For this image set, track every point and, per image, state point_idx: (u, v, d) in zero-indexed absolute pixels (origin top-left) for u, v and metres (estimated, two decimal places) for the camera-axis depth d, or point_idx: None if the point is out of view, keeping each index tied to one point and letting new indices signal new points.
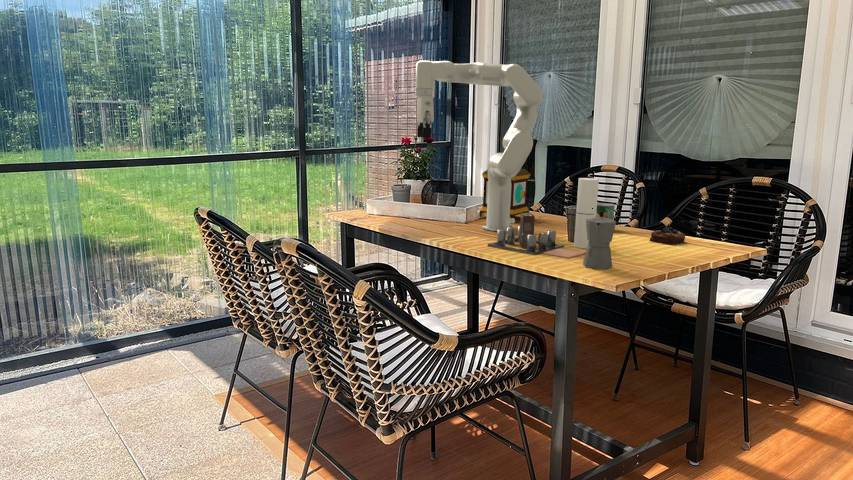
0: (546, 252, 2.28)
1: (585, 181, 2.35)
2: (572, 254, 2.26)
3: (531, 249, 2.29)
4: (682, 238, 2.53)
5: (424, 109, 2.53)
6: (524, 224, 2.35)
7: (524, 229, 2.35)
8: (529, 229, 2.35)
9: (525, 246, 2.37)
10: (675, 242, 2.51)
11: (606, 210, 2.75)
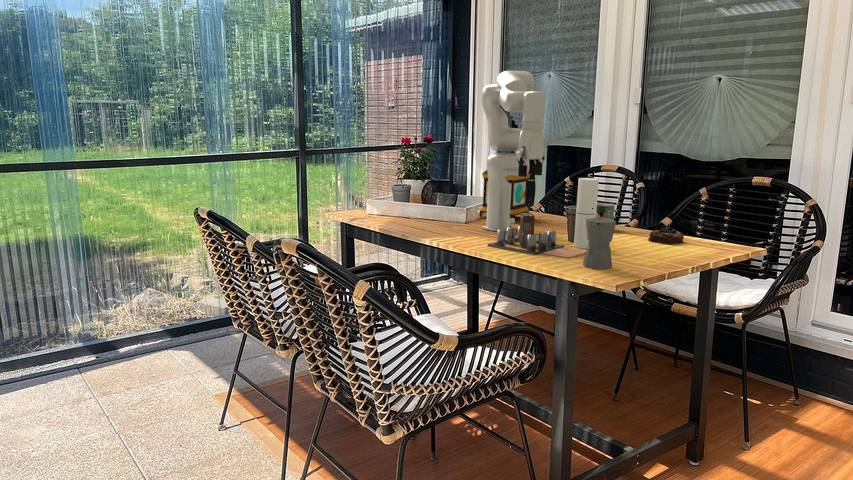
0: (546, 252, 2.28)
1: (585, 181, 2.35)
2: (572, 254, 2.26)
3: (531, 249, 2.29)
4: (680, 238, 2.54)
5: None
6: (524, 224, 2.35)
7: (524, 229, 2.35)
8: (529, 229, 2.35)
9: (525, 246, 2.37)
10: (674, 242, 2.52)
11: (606, 210, 2.75)
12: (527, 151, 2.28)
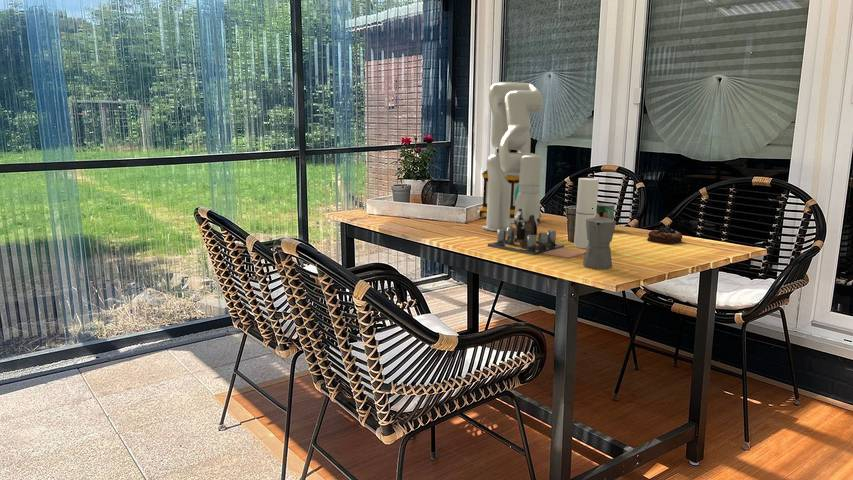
0: (546, 252, 2.28)
1: (585, 181, 2.35)
2: (572, 254, 2.26)
3: (531, 249, 2.29)
4: (679, 237, 2.54)
5: None
6: None
7: None
8: (529, 229, 2.35)
9: (525, 246, 2.37)
10: (672, 242, 2.52)
11: (606, 210, 2.75)
12: (524, 213, 2.32)
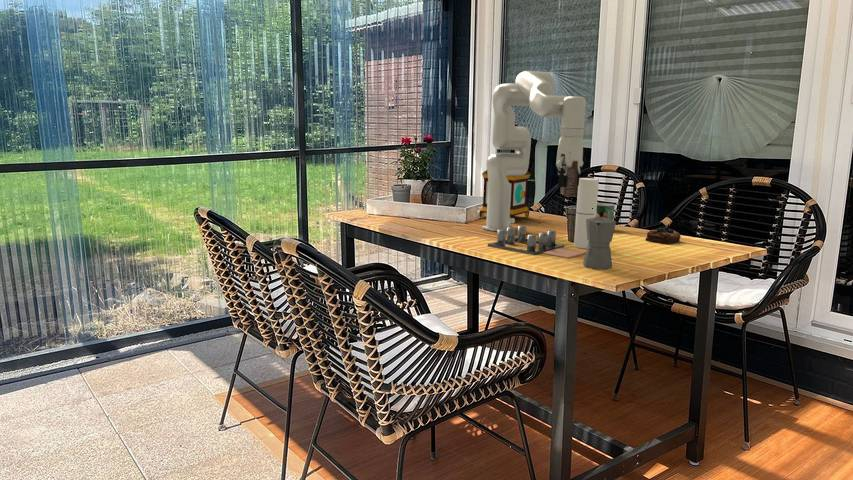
0: (546, 252, 2.28)
1: (585, 181, 2.35)
2: (572, 254, 2.26)
3: (531, 249, 2.29)
4: (677, 237, 2.54)
5: None
6: None
7: None
8: (572, 176, 2.21)
9: (567, 194, 2.22)
10: (671, 241, 2.52)
11: (606, 210, 2.75)
12: (567, 159, 2.18)
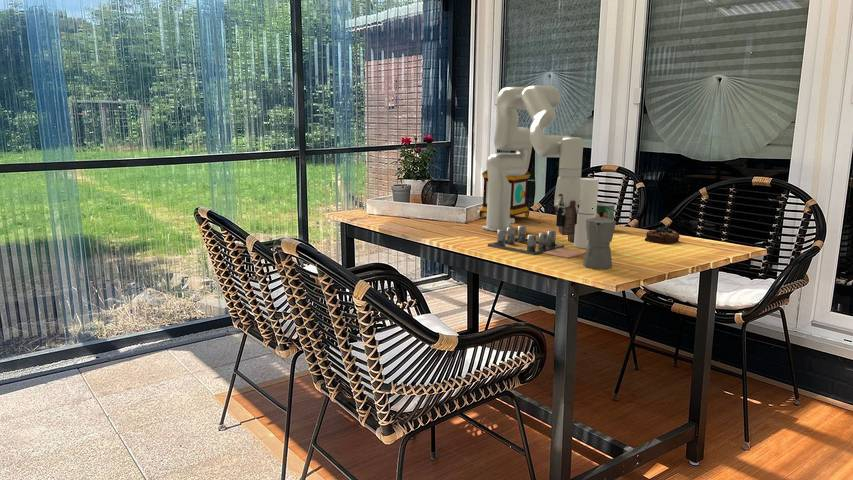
0: (546, 252, 2.28)
1: (585, 181, 2.35)
2: (572, 254, 2.26)
3: (531, 249, 2.29)
4: (676, 237, 2.55)
5: None
6: None
7: None
8: (570, 215, 2.23)
9: (565, 233, 2.25)
10: (670, 241, 2.52)
11: (606, 210, 2.75)
12: (565, 199, 2.21)
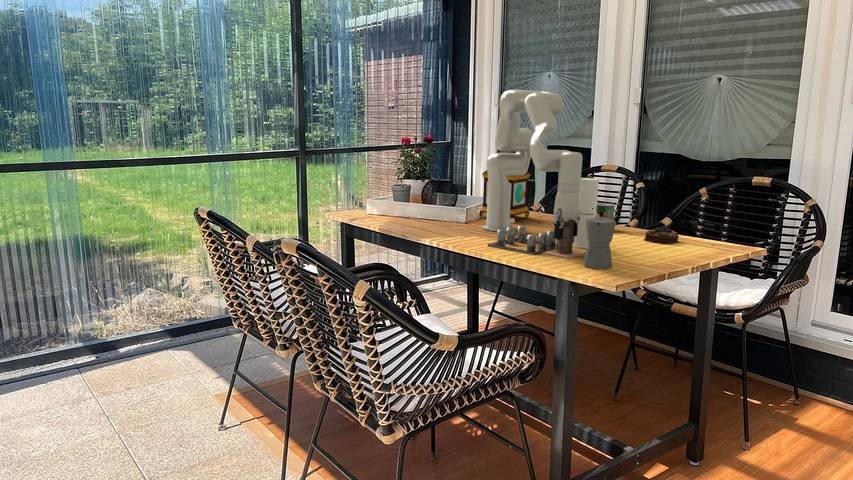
0: (546, 252, 2.28)
1: (585, 181, 2.35)
2: (572, 254, 2.26)
3: (531, 249, 2.29)
4: (676, 237, 2.55)
5: None
6: (563, 229, 2.24)
7: (563, 234, 2.25)
8: (568, 234, 2.25)
9: (563, 252, 2.26)
10: (670, 241, 2.52)
11: (606, 210, 2.75)
12: (564, 214, 2.22)
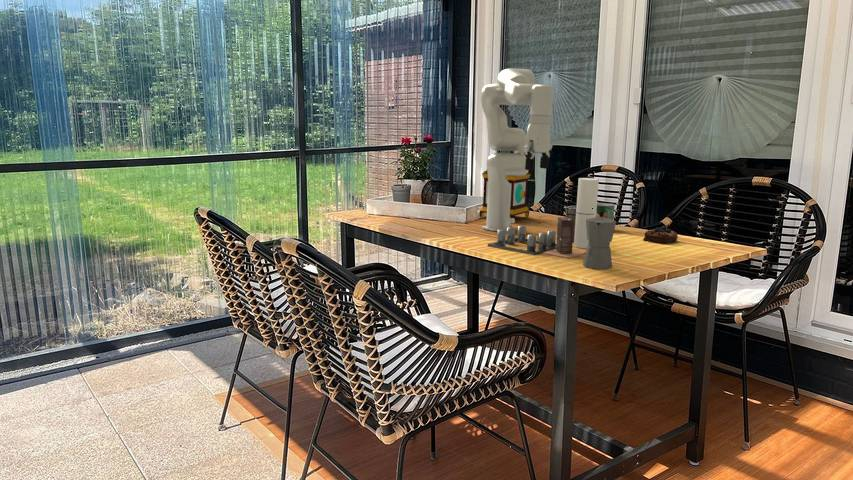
0: (546, 252, 2.28)
1: (585, 181, 2.35)
2: (572, 254, 2.26)
3: (531, 249, 2.29)
4: (675, 237, 2.55)
5: None
6: (563, 229, 2.24)
7: (563, 234, 2.25)
8: (568, 234, 2.25)
9: (563, 252, 2.26)
10: (669, 241, 2.52)
11: (606, 210, 2.75)
12: (535, 144, 2.28)
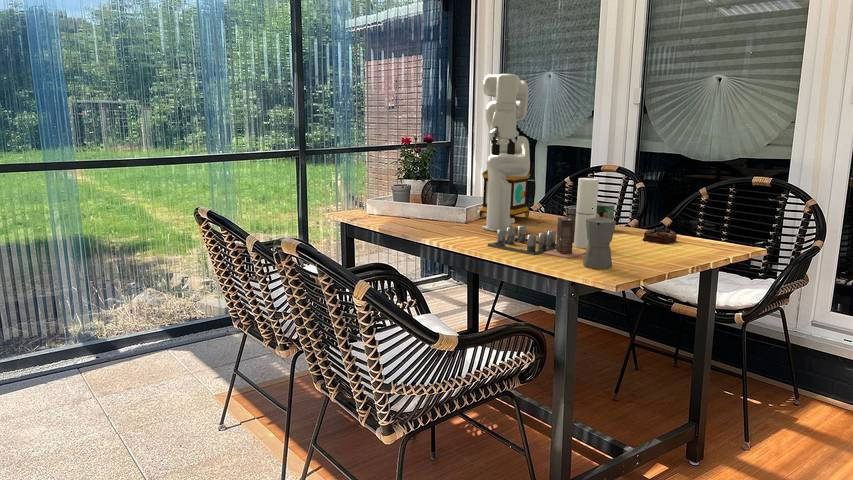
0: (546, 252, 2.28)
1: (585, 181, 2.35)
2: (572, 254, 2.26)
3: (531, 249, 2.29)
4: (674, 237, 2.55)
5: None
6: (563, 229, 2.24)
7: (562, 234, 2.25)
8: (568, 234, 2.25)
9: (563, 252, 2.26)
10: (669, 241, 2.53)
11: (606, 210, 2.75)
12: (500, 130, 2.40)
